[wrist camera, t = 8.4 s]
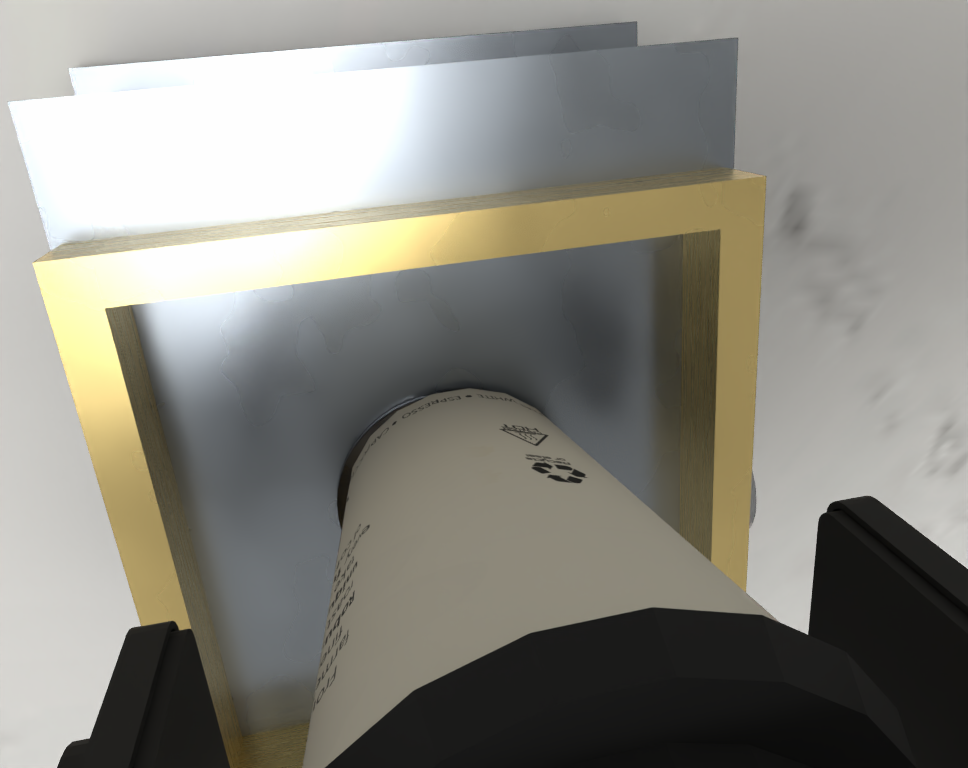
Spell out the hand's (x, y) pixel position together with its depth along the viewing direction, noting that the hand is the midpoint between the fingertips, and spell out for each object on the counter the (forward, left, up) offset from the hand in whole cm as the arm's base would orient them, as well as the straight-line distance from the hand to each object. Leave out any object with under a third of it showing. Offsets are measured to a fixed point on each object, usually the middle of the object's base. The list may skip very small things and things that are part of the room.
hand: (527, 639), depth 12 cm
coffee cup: (0, 0, -5) cm, 5 cm away
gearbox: (0, 0, -12) cm, 12 cm away
